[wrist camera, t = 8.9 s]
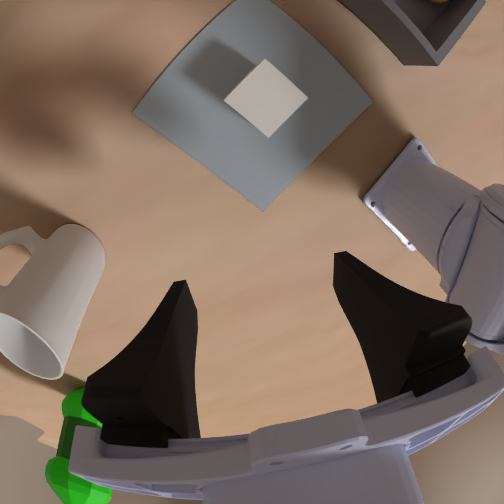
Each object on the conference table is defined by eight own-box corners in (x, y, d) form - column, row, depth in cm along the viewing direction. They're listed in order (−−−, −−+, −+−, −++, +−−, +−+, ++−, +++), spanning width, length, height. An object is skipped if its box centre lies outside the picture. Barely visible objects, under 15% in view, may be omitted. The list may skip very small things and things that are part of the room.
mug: (122, 259, 24) (80, 367, 14) (83, 291, 25) (43, 386, 15) (51, 179, 19) (-38, 255, 9) (19, 222, 20) (-50, 301, 10)
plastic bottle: (59, 388, 36) (35, 510, 15) (80, 372, 33) (52, 523, 12) (104, 413, 40) (92, 529, 19) (132, 401, 38) (123, 540, 17)
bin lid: (368, 101, 19) (400, 107, 15) (261, 208, 23) (271, 236, 19) (250, -10, 13) (258, -33, 9) (134, 112, 18) (112, 118, 14)
